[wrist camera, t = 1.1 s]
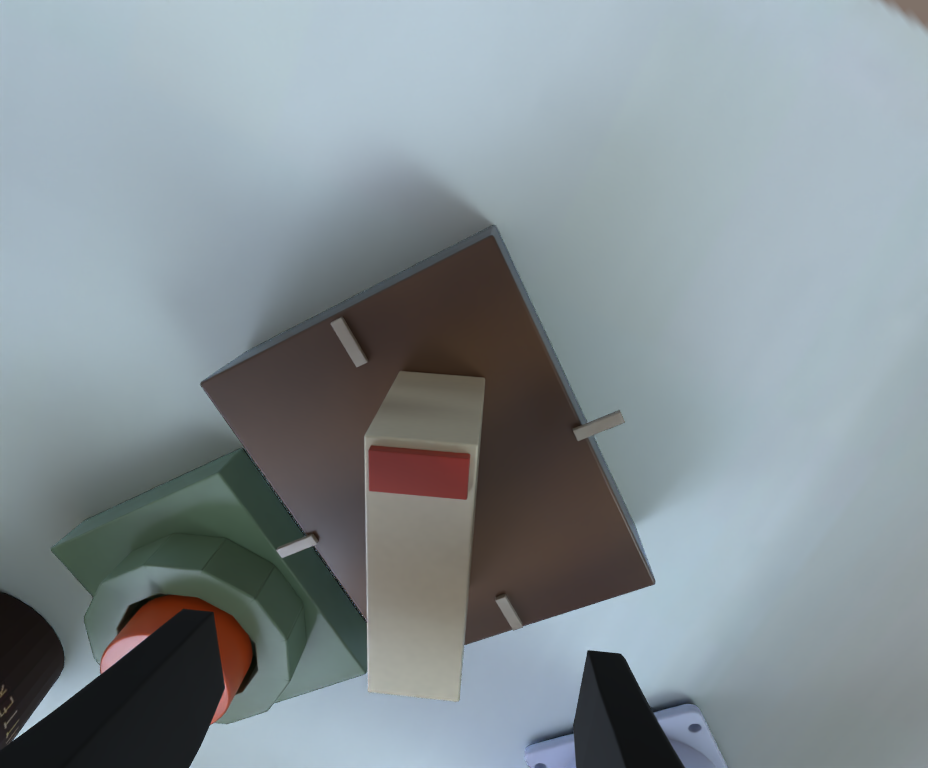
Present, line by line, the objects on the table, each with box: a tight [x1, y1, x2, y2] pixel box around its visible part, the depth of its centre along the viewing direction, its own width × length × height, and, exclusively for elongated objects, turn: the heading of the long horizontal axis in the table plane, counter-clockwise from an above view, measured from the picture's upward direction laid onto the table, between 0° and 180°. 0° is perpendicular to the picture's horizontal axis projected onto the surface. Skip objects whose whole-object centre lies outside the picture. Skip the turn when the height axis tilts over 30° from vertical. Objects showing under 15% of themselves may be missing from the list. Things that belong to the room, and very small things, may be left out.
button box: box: [51, 448, 367, 724], centre depth 20 cm, size 10×8×4 cm
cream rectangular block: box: [364, 371, 485, 702], centre depth 14 cm, size 8×2×4 cm, turn 177°
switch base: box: [200, 225, 655, 645], centre depth 17 cm, size 12×12×3 cm
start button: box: [100, 595, 253, 725], centre depth 18 cm, size 4×4×2 cm
